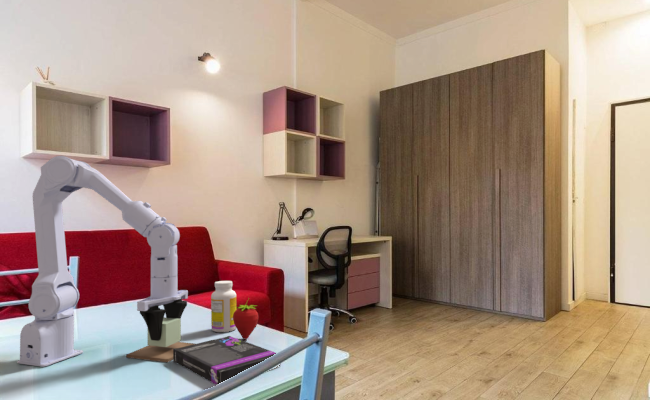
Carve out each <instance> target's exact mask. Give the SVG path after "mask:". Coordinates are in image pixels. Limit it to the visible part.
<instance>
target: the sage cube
mask: <svg viewBox="0 0 650 400" xmlns="http://www.w3.org/2000/svg"><path fill="white" fill-rule="evenodd" d="M181 322H182V318H181V319H178V318H166V316H164V318H163V323H162V334H161V339H160V340H159V341H156V340H151V338H150V334H149V330H148V329H147V346H148V345H150V346H160V347H167V346H170V345H172V344H174V343H176V342H182V341H181V339H182V334H181V333H182V331H181V330H182V323H181Z"/></svg>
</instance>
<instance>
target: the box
mask: <svg viewBox="0 0 650 400" xmlns="http://www.w3.org/2000/svg"><path fill="white" fill-rule="evenodd" d="M276 353H277V352H274V351H272V350H269V349H267V348H264V347H262V346H259V345H256V344H253V343H251V342H248V341H244V340H242V339H239V338H236V337H234V336H231V335H228V336H225V337H224V336H223V337H220V338H216V339H211V340H207V341H202V342H198V343H194V344H193V345H189V346H185V347H181V348H174V349H173V360H172V361H173V363H175V364H177V365H179V366H181V367H183V368H184V369H186V370H188V371H190V372H192V373H194V374H195V375H197V376H199V377H201V378H202V379H204V380H207V381H208V382H210V383H212V384H214V385H216V384H219V383H221V382H223V381H225V380H227V379H229V378H231V377H233V376H235V375H237V374H238V373H240V372H242V371H244V370H246V369H248V368H250V367H252V366H254V365H256V364H258V363H260V362H262V361H264V360H265V359H267V358H269V357H271V356H273V355H274V354H276ZM279 366H280V367H281V364H280V365H279ZM277 367H278V366H277ZM277 367H276V368H274V369H273V370H275V369H278V368H279V367H278V368H277Z"/></svg>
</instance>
